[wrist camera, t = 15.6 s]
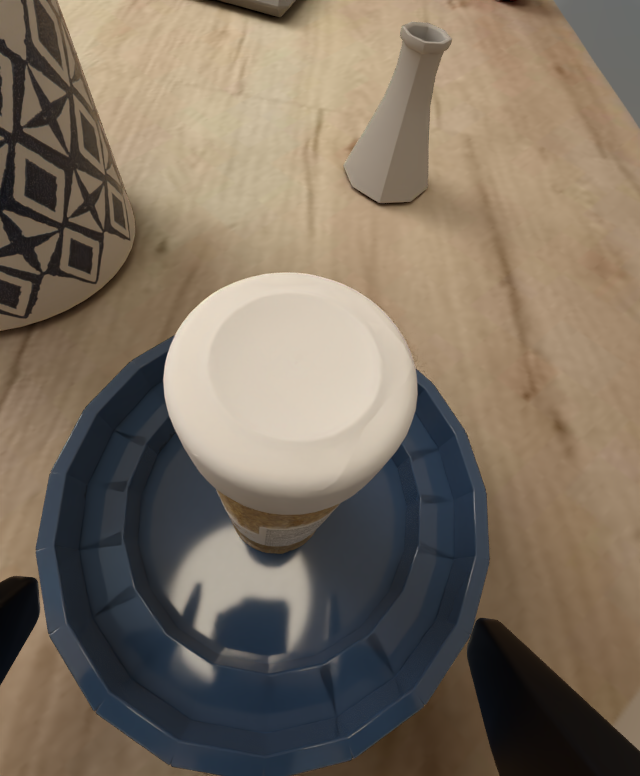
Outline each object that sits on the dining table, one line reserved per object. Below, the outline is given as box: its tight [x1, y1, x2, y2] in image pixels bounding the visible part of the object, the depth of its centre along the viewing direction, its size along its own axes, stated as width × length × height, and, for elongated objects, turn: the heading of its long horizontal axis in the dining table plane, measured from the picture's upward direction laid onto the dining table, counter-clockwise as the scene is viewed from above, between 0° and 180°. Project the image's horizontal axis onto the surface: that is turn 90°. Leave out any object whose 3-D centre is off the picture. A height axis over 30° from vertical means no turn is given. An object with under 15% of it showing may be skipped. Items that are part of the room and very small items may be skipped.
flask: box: [343, 22, 452, 203], centre depth 28 cm, size 7×7×10 cm
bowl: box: [36, 335, 490, 776], centre depth 17 cm, size 17×17×4 cm
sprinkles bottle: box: [163, 272, 418, 554], centre depth 12 cm, size 5×5×14 cm
